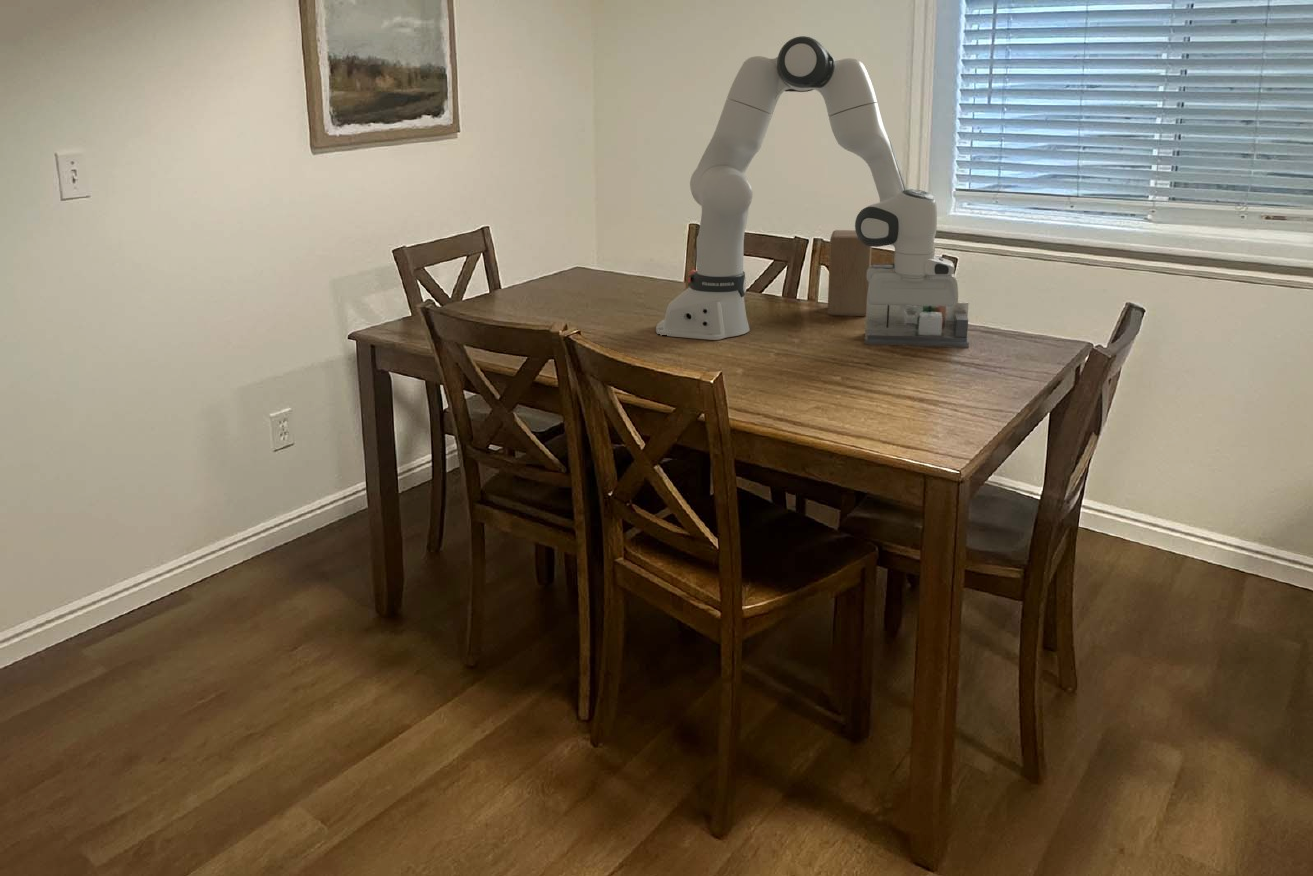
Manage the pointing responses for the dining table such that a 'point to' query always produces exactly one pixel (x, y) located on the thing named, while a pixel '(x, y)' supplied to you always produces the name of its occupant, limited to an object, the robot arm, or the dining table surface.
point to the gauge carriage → (930, 323)
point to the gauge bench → (915, 326)
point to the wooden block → (848, 274)
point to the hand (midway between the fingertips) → (910, 323)
